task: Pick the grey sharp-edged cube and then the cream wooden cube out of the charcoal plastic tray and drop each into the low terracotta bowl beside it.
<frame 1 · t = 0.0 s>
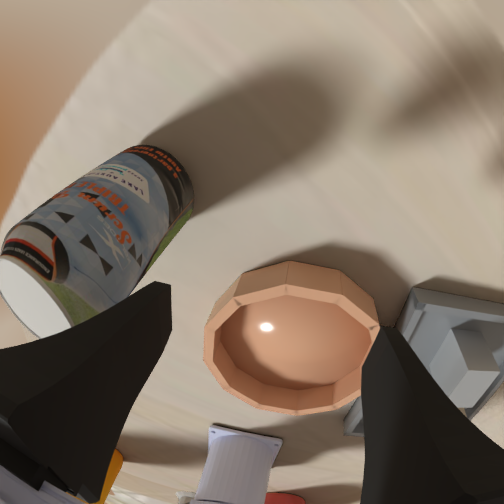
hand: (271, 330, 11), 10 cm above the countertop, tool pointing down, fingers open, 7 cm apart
beer bottle: (101, 445, 43), on the countertop
grey sharp-edged cube: (455, 349, 21), point 1 cm above the countertop, touching tray
bowl: (295, 336, 24), on the countertop
tray: (439, 374, 23), on the countertop
french press: (197, 499, 48), on the countertop
beverage can: (154, 194, 21), on the countertop
flower pot: (281, 498, 41), on the countertop
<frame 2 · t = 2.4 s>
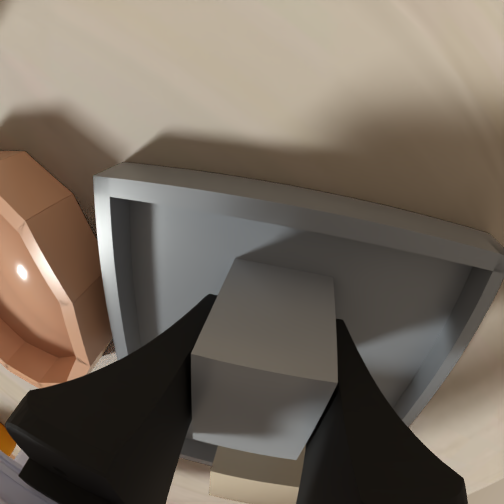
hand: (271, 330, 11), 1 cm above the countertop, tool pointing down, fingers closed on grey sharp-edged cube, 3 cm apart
grey sharp-edged cube: (274, 315, 11), point 1 cm above the countertop, touching gripper, tray
bowl: (22, 267, 14), on the countertop
cream wooden cube: (273, 413, 14), point 1 cm above the countertop, touching tray
tray: (273, 370, 13), on the countertop
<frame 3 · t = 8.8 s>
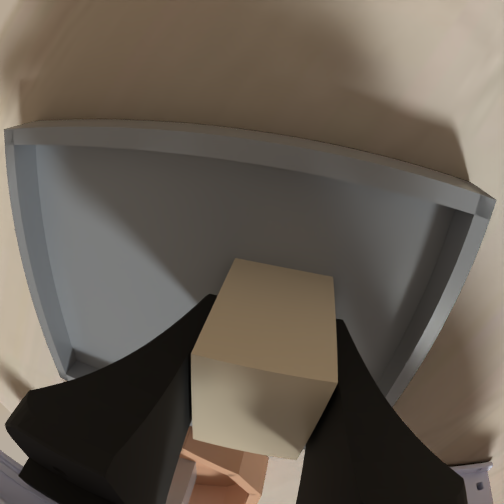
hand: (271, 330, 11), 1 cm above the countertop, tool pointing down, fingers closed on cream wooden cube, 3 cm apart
grey sharp-edged cube: (170, 462, 19), point 1 cm above the countertop, touching bowl
bowl: (175, 446, 19), on the countertop
cream wooden cube: (274, 315, 11), point 1 cm above the countertop, touching gripper, tray
tray: (209, 302, 12), on the countertop
when the fingers open (4 cm above the countertop, at t = 11.4 s): cream wooden cube drops 2 cm, resting on bowl.
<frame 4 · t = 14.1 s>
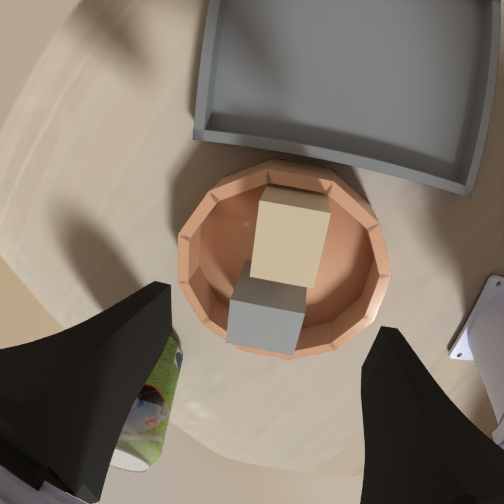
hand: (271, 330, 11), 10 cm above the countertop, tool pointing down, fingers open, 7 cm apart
grey sharp-edged cube: (273, 286, 21), point 1 cm above the countertop, touching bowl
bowl: (284, 257, 21), on the countertop
cream wooden cube: (293, 213, 19), point 1 cm above the countertop, touching bowl
tray: (356, 49, 14), on the countertop
beverage can: (161, 344, 27), on the countertop
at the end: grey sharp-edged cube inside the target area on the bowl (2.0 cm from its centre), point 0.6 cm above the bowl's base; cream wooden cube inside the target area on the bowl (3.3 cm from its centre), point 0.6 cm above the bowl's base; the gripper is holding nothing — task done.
